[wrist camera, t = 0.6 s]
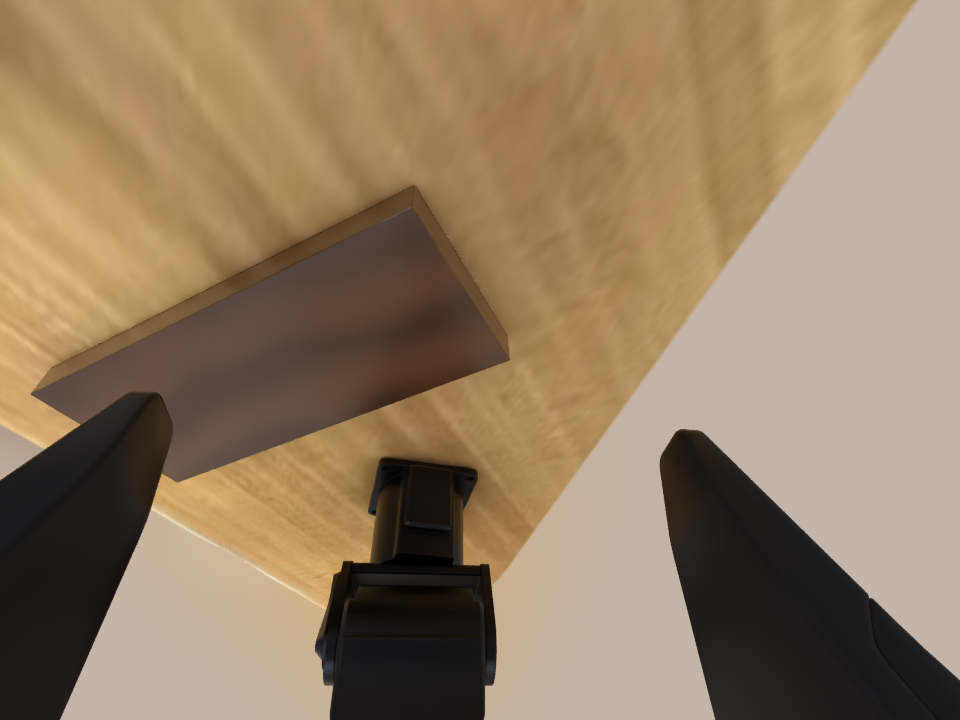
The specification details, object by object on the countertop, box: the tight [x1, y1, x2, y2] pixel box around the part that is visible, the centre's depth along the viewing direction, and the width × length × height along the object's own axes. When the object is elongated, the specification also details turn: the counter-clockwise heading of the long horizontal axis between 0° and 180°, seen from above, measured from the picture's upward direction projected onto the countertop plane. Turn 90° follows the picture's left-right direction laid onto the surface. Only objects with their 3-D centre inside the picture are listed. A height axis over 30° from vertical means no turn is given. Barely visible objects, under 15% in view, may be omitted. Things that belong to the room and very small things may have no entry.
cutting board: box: [31, 186, 510, 482], centre depth 26 cm, size 9×22×2 cm, turn 116°
